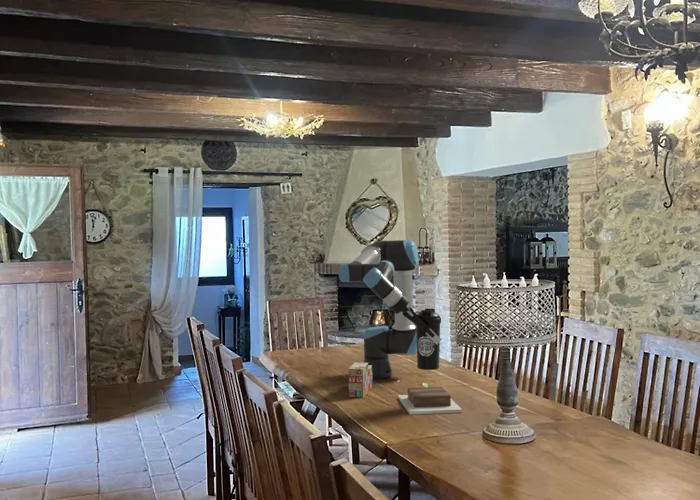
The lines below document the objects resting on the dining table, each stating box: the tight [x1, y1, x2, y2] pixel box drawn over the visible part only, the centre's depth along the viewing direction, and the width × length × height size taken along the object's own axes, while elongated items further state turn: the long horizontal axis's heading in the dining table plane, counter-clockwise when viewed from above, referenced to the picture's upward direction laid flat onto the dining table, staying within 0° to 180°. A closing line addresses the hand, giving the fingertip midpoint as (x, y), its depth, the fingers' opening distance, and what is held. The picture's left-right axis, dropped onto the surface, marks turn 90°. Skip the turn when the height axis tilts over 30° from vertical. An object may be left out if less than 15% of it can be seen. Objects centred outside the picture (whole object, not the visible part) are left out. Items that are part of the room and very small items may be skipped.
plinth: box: [407, 386, 452, 407], centre depth 250 cm, size 14×14×4 cm
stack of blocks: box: [348, 361, 373, 399], centre depth 273 cm, size 21×6×12 cm, turn 167°
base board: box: [398, 394, 463, 416], centre depth 250 cm, size 24×20×1 cm
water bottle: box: [416, 307, 442, 371], centre depth 249 cm, size 10×10×23 cm
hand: (436, 339), depth 250 cm, fingers closed on water bottle, 9 cm apart
